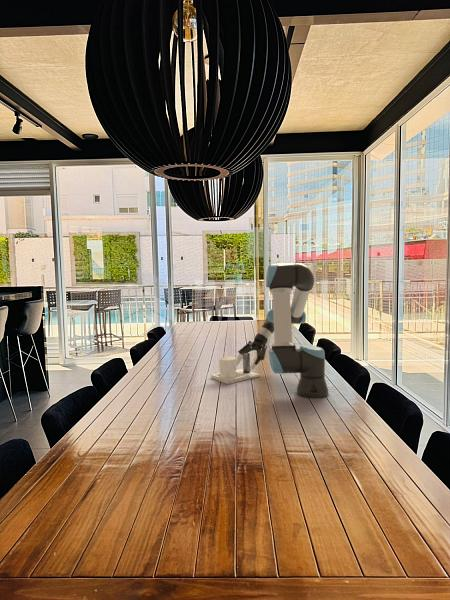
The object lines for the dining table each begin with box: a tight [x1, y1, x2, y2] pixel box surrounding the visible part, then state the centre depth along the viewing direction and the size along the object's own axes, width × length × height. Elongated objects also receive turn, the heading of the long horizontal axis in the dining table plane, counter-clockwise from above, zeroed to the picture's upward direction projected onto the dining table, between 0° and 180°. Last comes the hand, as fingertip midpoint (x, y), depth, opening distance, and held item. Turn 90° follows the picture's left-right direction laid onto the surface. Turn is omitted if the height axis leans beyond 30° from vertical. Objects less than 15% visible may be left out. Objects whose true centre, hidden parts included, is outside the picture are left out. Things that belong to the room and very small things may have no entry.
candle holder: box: [218, 355, 237, 379], centre depth 238 cm, size 10×10×12 cm
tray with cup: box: [210, 352, 261, 385], centre depth 241 cm, size 16×22×12 cm
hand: (243, 366), depth 245 cm, fingers open, 13 cm apart
